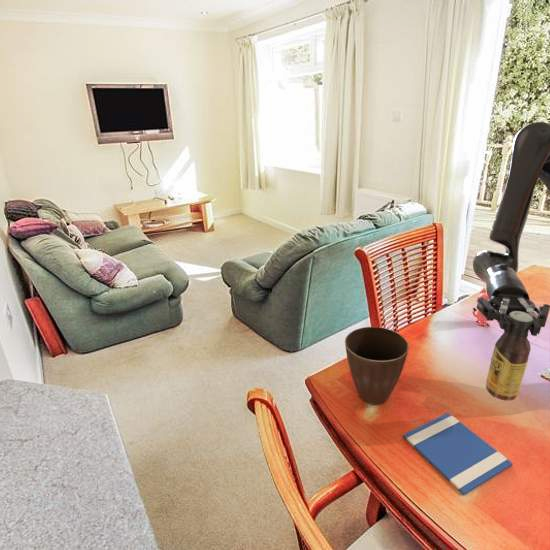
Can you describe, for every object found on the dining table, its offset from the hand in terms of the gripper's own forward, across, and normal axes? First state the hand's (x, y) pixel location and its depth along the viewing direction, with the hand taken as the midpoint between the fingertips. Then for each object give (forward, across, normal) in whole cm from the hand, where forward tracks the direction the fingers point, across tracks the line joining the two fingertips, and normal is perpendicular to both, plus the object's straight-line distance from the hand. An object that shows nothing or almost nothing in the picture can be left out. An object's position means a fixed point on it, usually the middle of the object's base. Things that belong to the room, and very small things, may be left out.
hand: (521, 329), depth 72 cm
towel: (+7, -9, +27) cm, 29 cm away
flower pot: (-5, -27, +28) cm, 39 cm away
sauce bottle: (-3, 0, +18) cm, 18 cm away
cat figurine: (-51, +3, +28) cm, 58 cm away
